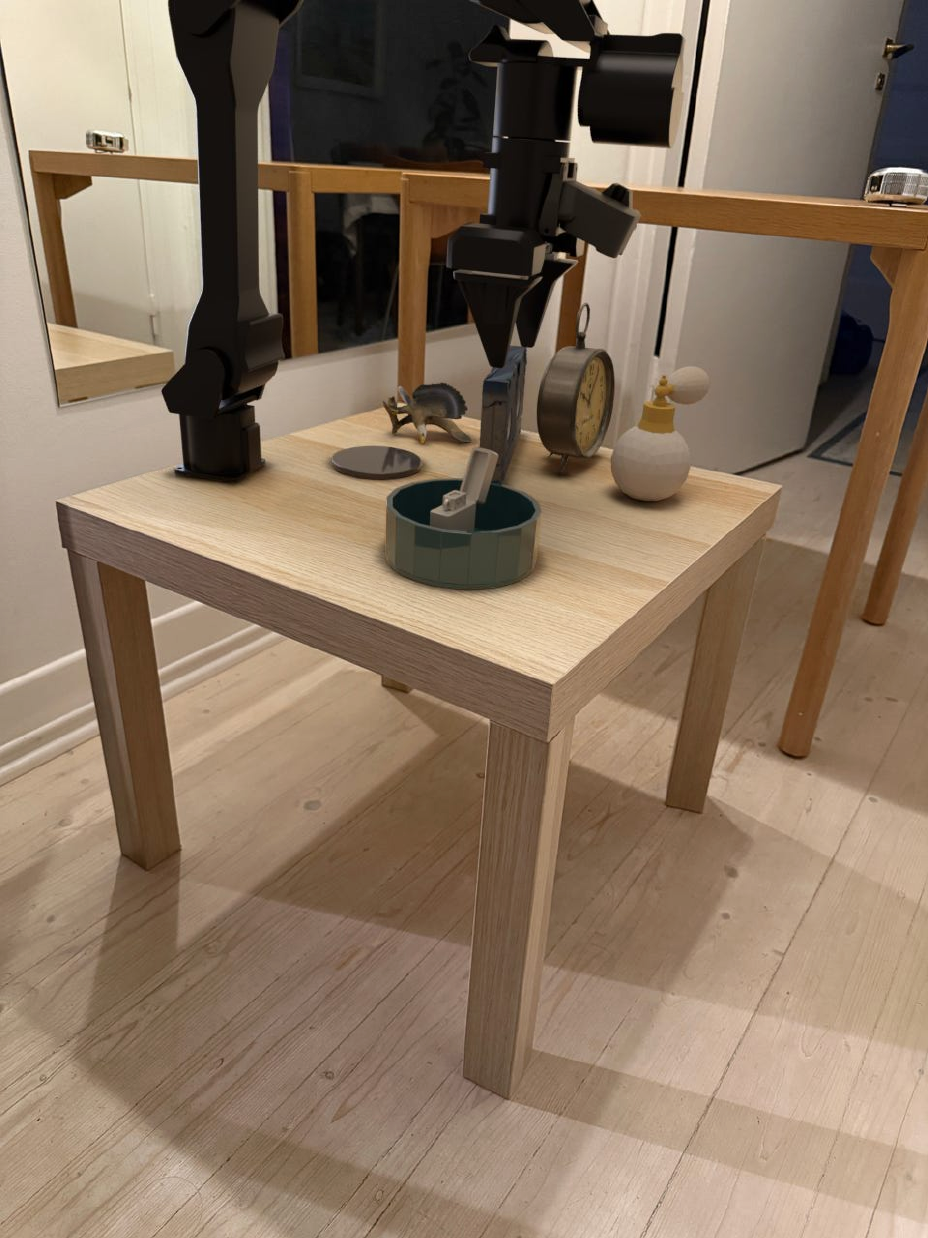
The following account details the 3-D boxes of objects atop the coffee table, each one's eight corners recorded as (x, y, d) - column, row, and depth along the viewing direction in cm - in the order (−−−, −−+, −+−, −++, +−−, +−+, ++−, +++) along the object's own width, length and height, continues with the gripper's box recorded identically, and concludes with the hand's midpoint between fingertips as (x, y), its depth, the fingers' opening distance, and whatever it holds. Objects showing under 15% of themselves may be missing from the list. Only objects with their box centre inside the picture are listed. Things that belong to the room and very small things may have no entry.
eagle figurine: (384, 438, 96) (468, 428, 95) (379, 373, 97) (463, 362, 96) (397, 457, 103) (475, 448, 103) (392, 397, 104) (470, 388, 103)
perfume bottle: (596, 500, 86) (613, 372, 81) (623, 472, 94) (640, 354, 89) (674, 516, 84) (698, 385, 78) (695, 486, 92) (718, 366, 86)
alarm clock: (569, 482, 90) (589, 312, 83) (521, 471, 93) (536, 304, 85) (609, 455, 99) (630, 300, 92) (564, 446, 101) (581, 293, 94)
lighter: (445, 569, 69) (451, 468, 66) (426, 563, 70) (431, 463, 66) (492, 541, 75) (499, 446, 71) (474, 536, 75) (480, 442, 72)
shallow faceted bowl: (362, 574, 68) (362, 518, 66) (412, 519, 79) (414, 470, 77) (517, 601, 66) (523, 544, 64) (547, 540, 77) (553, 490, 74)
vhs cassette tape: (499, 432, 105) (506, 343, 100) (524, 435, 104) (532, 346, 100) (471, 482, 89) (477, 379, 84) (501, 486, 88) (509, 382, 84)
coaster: (317, 471, 89) (317, 465, 89) (351, 446, 97) (351, 441, 96) (404, 484, 87) (405, 478, 87) (432, 457, 95) (432, 452, 94)
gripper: (619, 144, 56) (588, 394, 64) (658, 149, 72) (629, 349, 80) (450, 133, 59) (438, 374, 67) (523, 139, 75) (507, 334, 82)
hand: (513, 356), depth 74 cm, fingers open, 9 cm apart
